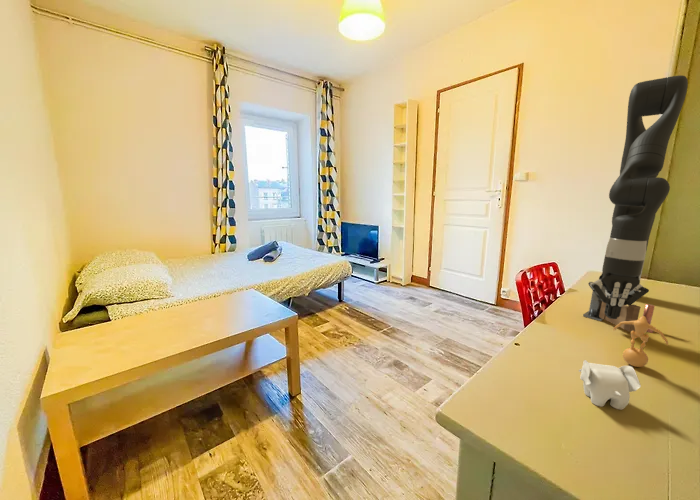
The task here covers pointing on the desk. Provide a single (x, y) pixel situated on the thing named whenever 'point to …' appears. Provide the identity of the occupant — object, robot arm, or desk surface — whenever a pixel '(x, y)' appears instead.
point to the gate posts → (596, 306)
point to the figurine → (638, 355)
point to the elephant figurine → (609, 383)
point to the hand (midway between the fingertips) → (611, 317)
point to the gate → (623, 316)
